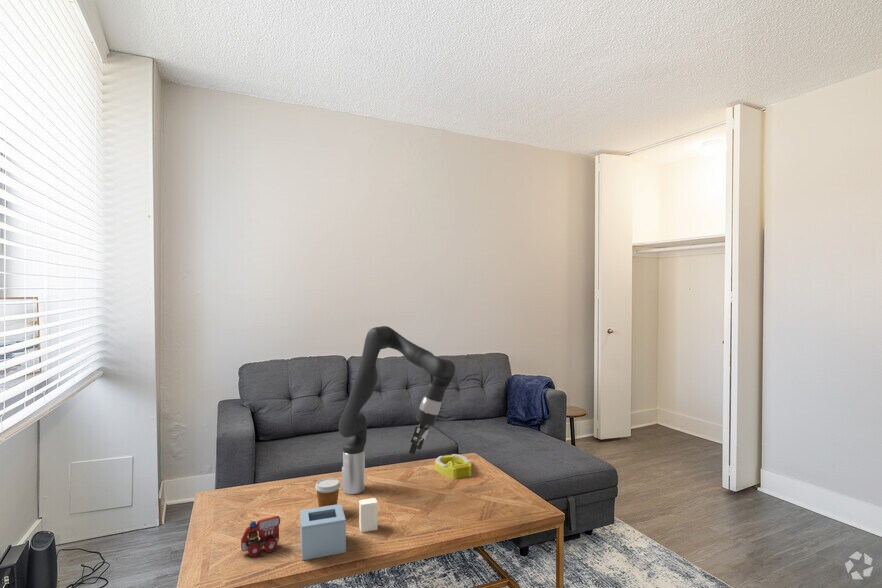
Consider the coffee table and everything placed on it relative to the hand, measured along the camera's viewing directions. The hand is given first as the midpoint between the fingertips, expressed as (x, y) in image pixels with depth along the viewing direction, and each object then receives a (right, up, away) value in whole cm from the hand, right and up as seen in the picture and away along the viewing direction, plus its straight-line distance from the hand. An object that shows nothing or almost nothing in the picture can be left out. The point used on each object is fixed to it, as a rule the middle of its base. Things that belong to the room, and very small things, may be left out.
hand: (414, 451), depth 177 cm
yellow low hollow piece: (+16, -26, +50) cm, 59 cm away
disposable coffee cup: (-34, -27, +8) cm, 44 cm away
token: (-17, -27, -4) cm, 32 cm away
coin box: (-30, -27, -16) cm, 44 cm away
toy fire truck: (-51, -28, -18) cm, 61 cm away
